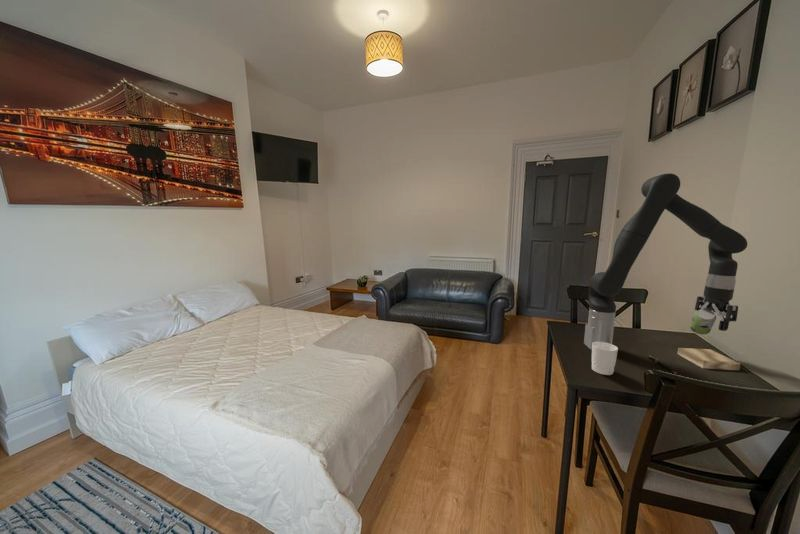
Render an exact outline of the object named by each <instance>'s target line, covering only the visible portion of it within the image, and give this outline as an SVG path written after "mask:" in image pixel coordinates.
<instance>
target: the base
mask: <svg viewBox="0 0 800 534" xmlns="http://www.w3.org/2000/svg"><path fill="white" fill-rule="evenodd" d="M676 353H677V355H679V356H680V357H682V358H684V359H686V360H688V361H689V362H691V363H692V364H694V365H695V366H697V367H700V368H701V369H709V370H710V369H711V370H725V371H726V370H727V371H740V368H741V363H740V362H739V361H736V360H734V359H731V357H727V356H725V355H723V354H721V353H719V352H717V351H715V350H714V349H709V348H708V349H707V348H691V347H690V348H686V347H678V348H677V352H676Z"/></svg>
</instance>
